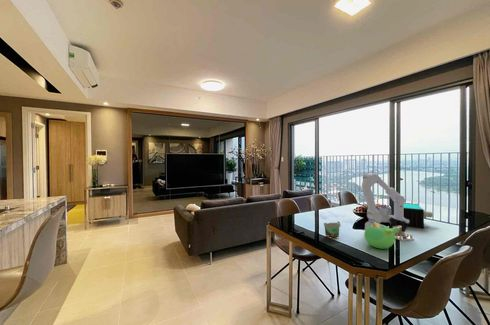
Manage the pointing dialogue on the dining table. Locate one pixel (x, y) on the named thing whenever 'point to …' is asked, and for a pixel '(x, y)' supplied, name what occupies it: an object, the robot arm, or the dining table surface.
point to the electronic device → (414, 215)
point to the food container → (332, 229)
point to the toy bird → (380, 235)
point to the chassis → (404, 237)
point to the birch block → (399, 230)
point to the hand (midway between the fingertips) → (398, 230)
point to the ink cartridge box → (384, 213)
